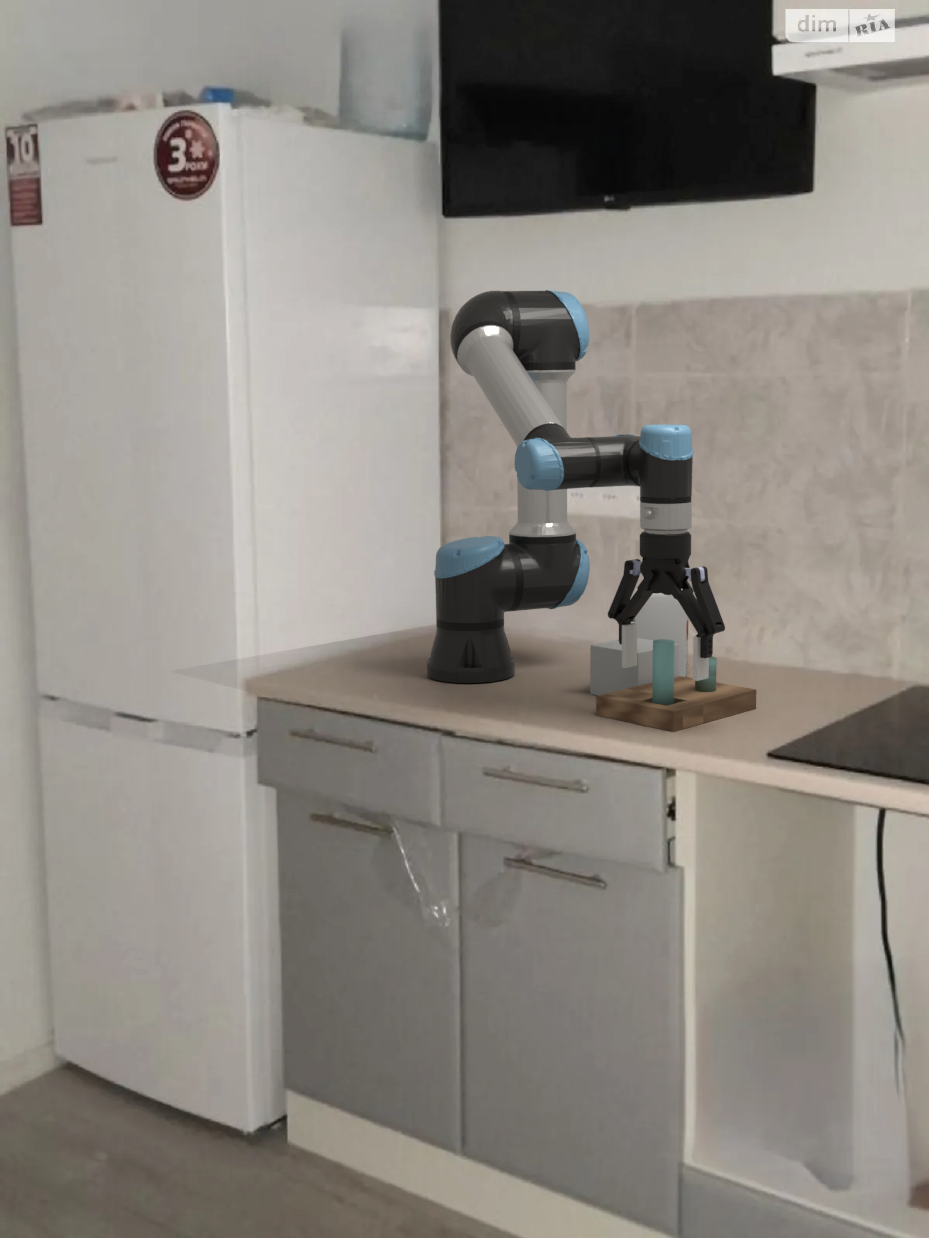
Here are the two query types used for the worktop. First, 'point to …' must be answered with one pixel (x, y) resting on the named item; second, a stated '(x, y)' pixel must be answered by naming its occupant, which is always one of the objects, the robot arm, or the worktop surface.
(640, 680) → the grey square block
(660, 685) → the peg
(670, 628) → the supplement box
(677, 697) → the board
